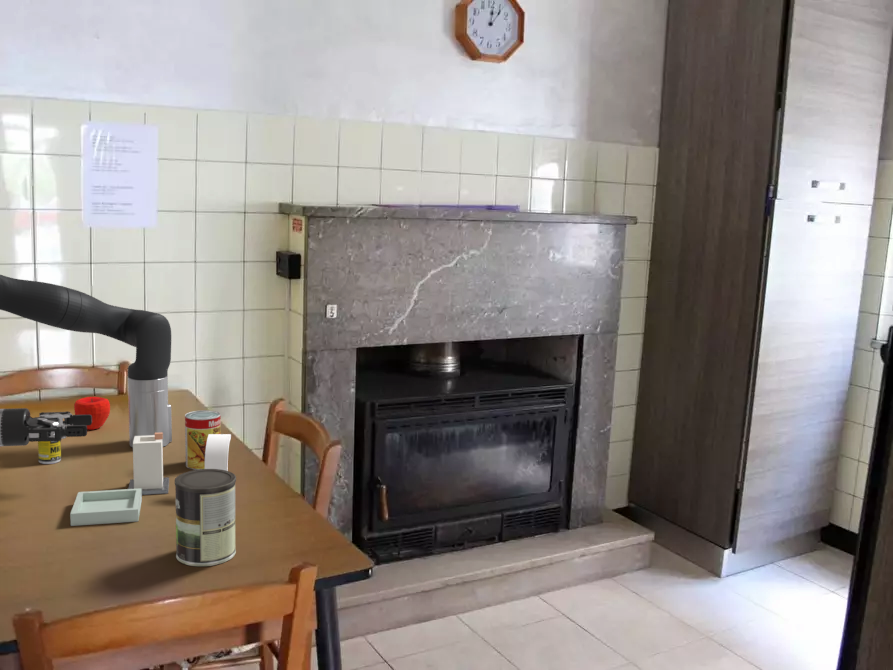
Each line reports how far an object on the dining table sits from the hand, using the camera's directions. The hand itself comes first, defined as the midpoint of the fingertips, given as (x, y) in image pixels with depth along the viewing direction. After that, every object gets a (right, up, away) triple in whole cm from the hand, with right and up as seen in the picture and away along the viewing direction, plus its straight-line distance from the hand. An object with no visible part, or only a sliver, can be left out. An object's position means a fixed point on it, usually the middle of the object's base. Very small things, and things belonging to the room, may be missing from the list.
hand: (89, 425), depth 178 cm
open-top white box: (+10, -13, +6) cm, 18 cm away
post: (+10, -14, +6) cm, 18 cm away
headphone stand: (+25, -15, +4) cm, 30 cm away
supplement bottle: (-18, -11, +21) cm, 29 cm away
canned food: (+17, -12, +22) cm, 30 cm away
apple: (-19, -6, +49) cm, 53 cm away
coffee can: (+31, -20, -26) cm, 46 cm away
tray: (+7, -16, -8) cm, 20 cm away
